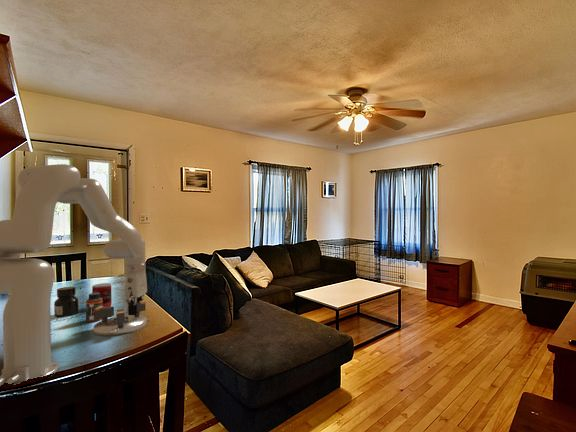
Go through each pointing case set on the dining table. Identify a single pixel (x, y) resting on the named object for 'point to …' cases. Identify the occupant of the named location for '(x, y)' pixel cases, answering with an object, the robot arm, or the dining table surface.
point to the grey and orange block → (140, 307)
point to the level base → (112, 327)
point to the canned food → (103, 293)
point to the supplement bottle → (93, 306)
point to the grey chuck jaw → (120, 317)
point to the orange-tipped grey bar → (104, 313)
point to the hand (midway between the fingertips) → (136, 312)
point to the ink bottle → (66, 302)
